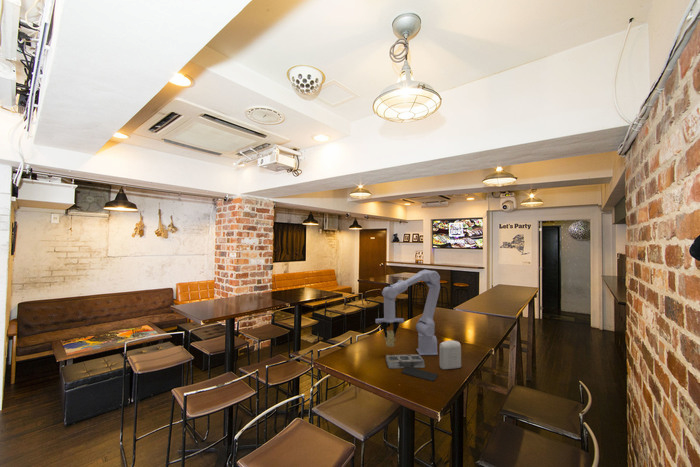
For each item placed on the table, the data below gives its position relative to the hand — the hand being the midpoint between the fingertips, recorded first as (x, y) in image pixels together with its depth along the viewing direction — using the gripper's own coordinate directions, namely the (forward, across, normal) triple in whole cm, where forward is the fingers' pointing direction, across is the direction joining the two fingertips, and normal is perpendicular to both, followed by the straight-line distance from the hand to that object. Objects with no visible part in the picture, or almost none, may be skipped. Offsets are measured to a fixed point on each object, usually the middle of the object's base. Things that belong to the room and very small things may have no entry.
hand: (389, 336), depth 145 cm
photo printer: (+11, +26, -13) cm, 31 cm away
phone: (+11, +10, -19) cm, 24 cm away
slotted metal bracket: (+10, +5, -9) cm, 15 cm away
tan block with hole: (+4, 0, 0) cm, 4 cm away
